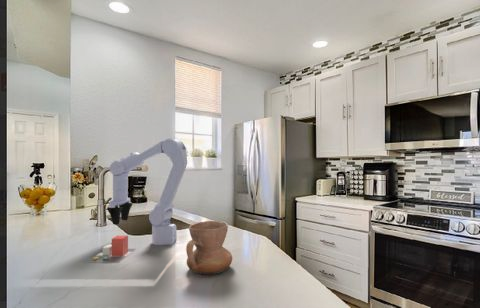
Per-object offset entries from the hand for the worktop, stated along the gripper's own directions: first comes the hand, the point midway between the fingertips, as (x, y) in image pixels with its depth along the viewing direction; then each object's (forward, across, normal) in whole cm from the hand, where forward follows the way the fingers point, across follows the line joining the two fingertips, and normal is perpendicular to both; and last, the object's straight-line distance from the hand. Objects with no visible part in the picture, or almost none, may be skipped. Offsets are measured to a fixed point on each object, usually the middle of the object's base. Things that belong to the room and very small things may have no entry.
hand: (120, 222), depth 113 cm
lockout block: (+8, +16, +8) cm, 19 cm away
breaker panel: (+9, +17, +5) cm, 20 cm away
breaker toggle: (+8, +16, +4) cm, 18 cm away
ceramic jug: (+10, +26, +41) cm, 50 cm away
